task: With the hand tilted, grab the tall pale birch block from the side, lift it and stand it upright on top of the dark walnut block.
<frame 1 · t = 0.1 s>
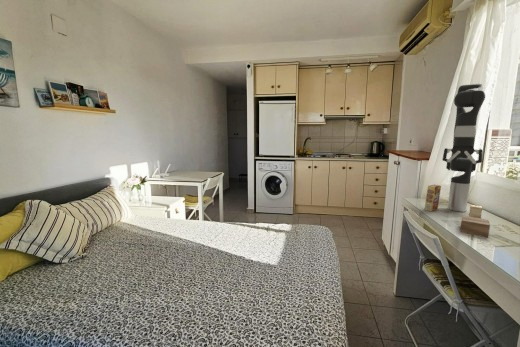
hand: (460, 170, 117), 29 cm above the table, tool pointing down, fingers open, 8 cm apart
candy box: (431, 209, 155), on the table
birch block: (473, 225, 128), on the table
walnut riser: (473, 231, 120), on the table
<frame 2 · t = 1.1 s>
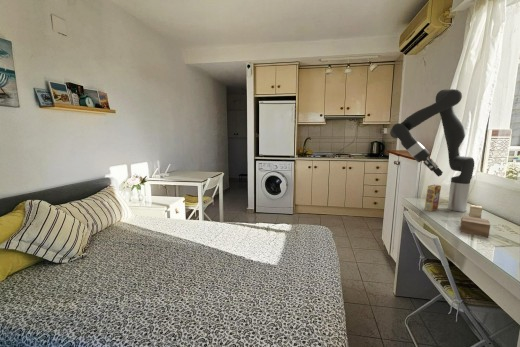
hand: (440, 174, 134), 25 cm above the table, tool tilted 45°, fingers open, 8 cm apart
nothing on the table moved.
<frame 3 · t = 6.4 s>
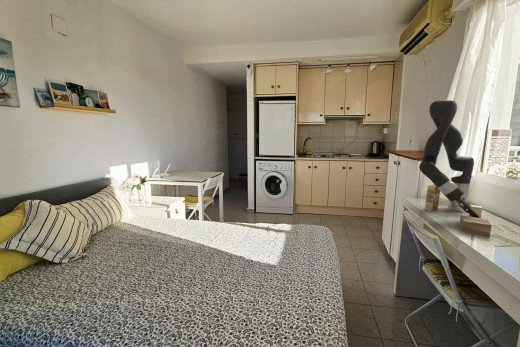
hand: (477, 217, 127), 5 cm above the table, tool tilted 45°, fingers closed on birch block, 4 cm apart
birch block: (473, 225, 128), on the table, touching gripper
everything else where it was.
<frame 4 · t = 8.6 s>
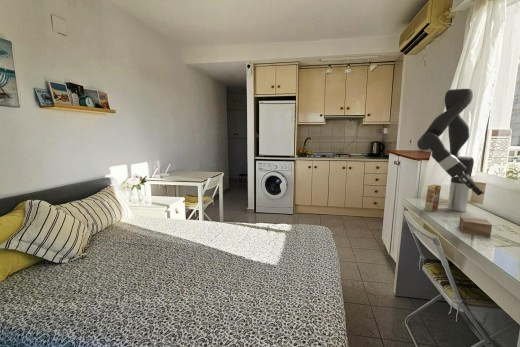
hand: (480, 193, 118), 19 cm above the table, tool tilted 45°, fingers closed on birch block, 4 cm apart
birch block: (476, 202, 119), point 14 cm above the table, touching gripper
everything else where it was.
when the fingers open (11 cm above the table, at t = 11.1 s): birch block drops 1 cm, point 6 cm above the table.
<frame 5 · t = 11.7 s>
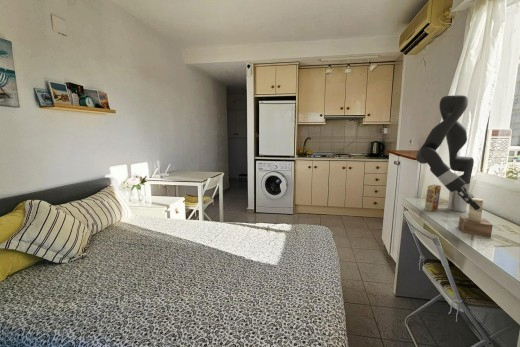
hand: (478, 207, 118), 12 cm above the table, tool tilted 45°, fingers open, 8 cm apart
birch block: (474, 219, 119), point 6 cm above the table
everything else where it was.
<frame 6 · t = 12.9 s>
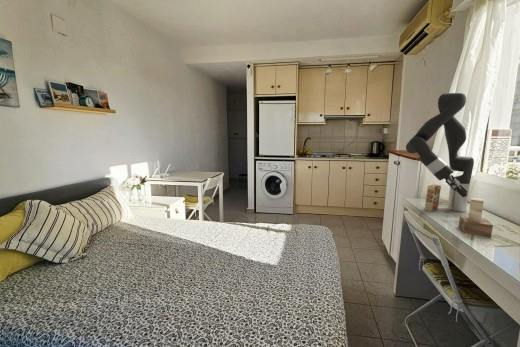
hand: (465, 194, 120), 17 cm above the table, tool tilted 45°, fingers open, 8 cm apart
birch block: (474, 219, 119), point 6 cm above the table, touching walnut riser
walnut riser: (473, 231, 120), on the table, touching birch block
everything else where it was.
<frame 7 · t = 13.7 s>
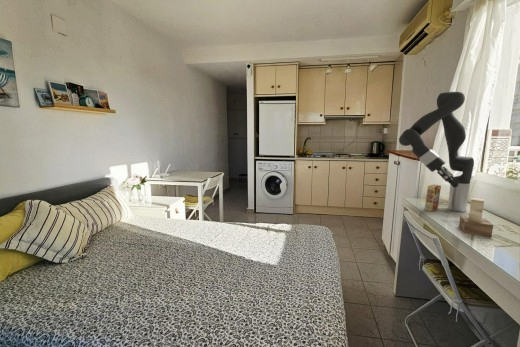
hand: (457, 185, 123), 21 cm above the table, tool tilted 45°, fingers open, 8 cm apart
birch block: (474, 220, 119), point 6 cm above the table
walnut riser: (474, 232, 120), on the table
everything else where it was.
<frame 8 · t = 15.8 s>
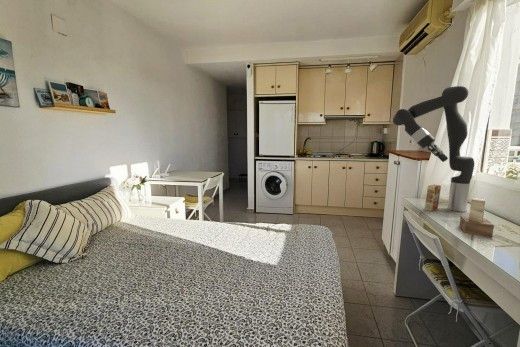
hand: (445, 160, 132), 33 cm above the table, tool tilted 45°, fingers open, 8 cm apart
birch block: (475, 220, 119), point 6 cm above the table, touching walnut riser
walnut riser: (474, 232, 120), on the table, touching birch block
everything else where it was.
at the end: birch block 0.2 cm off-centre on the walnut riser, point 6.1 cm above the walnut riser's base; birch block tilted 2°; the gripper is holding nothing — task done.
